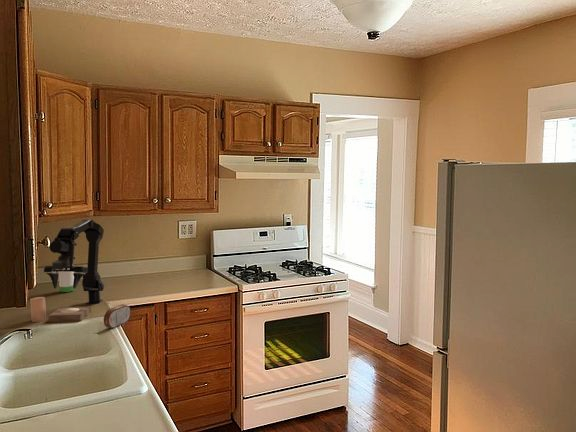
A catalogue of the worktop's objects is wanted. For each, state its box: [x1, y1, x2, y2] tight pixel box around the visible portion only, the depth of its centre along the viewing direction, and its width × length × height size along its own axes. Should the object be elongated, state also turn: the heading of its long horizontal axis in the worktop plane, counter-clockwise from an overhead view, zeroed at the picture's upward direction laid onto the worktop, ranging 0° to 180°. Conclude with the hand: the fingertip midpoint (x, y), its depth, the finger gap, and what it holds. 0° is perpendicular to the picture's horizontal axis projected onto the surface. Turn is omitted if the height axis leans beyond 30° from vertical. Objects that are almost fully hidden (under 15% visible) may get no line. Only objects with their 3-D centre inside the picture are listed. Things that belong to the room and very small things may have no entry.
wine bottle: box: [58, 268, 75, 293], centre depth 284 cm, size 8×8×30 cm
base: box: [47, 305, 92, 323], centre depth 232 cm, size 14×14×3 cm
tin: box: [103, 304, 132, 329], centre depth 219 cm, size 15×3×8 cm, turn 159°
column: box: [29, 296, 47, 323], centre depth 229 cm, size 6×6×10 cm
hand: (64, 288), depth 231 cm, fingers open, 9 cm apart
